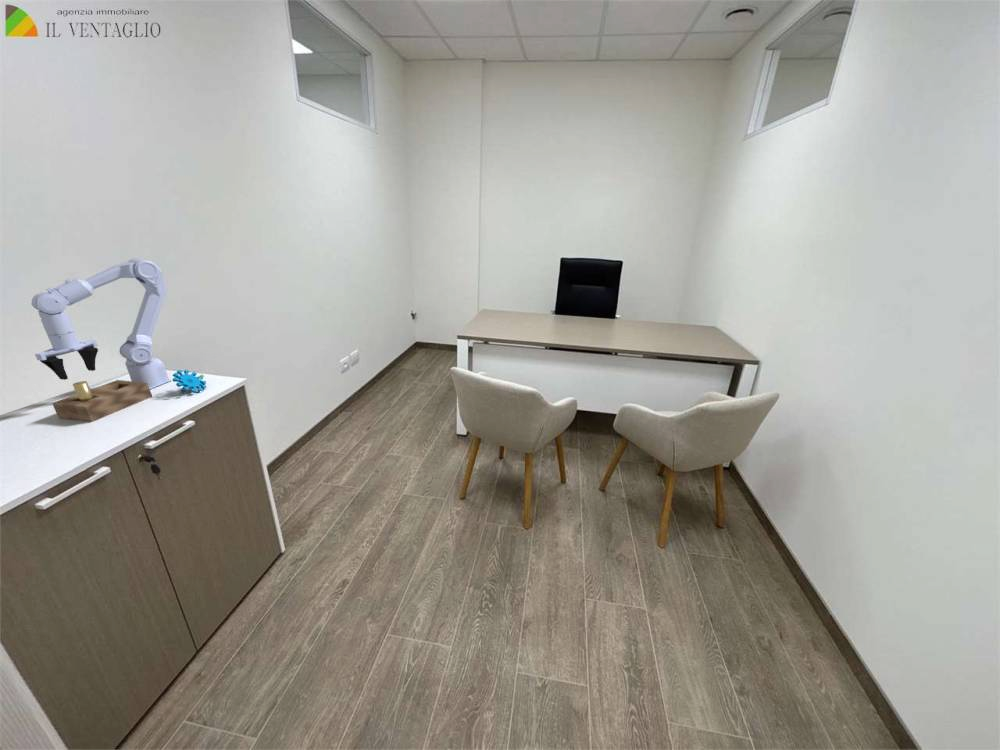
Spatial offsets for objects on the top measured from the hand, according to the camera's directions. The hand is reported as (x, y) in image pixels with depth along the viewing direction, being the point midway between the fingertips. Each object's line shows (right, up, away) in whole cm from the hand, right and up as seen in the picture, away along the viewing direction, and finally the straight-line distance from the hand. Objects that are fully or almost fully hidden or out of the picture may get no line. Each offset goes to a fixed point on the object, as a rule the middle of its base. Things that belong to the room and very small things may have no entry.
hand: (78, 374), depth 124 cm
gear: (+27, -6, +12) cm, 30 cm away
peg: (+9, -12, -4) cm, 15 cm away
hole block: (+9, -10, 0) cm, 14 cm away
